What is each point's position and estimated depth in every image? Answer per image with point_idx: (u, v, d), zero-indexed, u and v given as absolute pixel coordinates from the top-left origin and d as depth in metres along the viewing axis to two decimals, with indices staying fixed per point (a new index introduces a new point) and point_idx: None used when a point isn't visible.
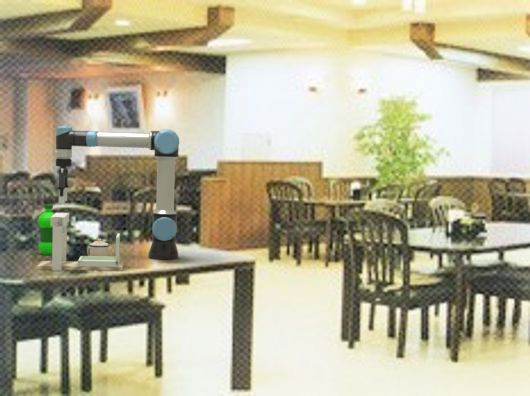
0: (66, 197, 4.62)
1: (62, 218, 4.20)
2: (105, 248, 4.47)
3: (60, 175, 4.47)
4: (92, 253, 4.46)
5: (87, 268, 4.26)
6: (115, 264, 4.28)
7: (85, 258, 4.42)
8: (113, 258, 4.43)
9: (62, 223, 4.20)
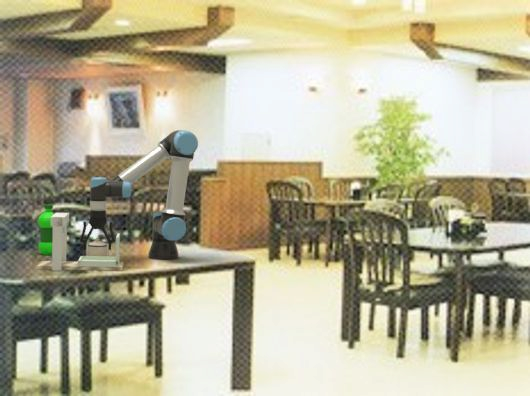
0: None
1: (62, 218, 4.20)
2: (103, 248, 4.47)
3: None
4: (90, 253, 4.46)
5: (87, 268, 4.26)
6: (115, 264, 4.28)
7: (85, 258, 4.42)
8: (113, 258, 4.43)
9: (62, 223, 4.20)
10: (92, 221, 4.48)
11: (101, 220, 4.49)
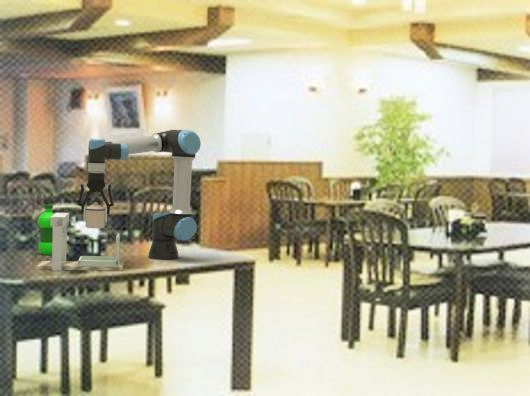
0: (105, 217, 4.33)
1: (62, 218, 4.20)
2: (101, 212, 4.30)
3: None
4: (88, 217, 4.29)
5: (87, 268, 4.26)
6: (115, 264, 4.28)
7: (85, 258, 4.42)
8: (113, 258, 4.43)
9: (62, 223, 4.20)
10: (90, 184, 4.31)
11: (99, 183, 4.32)
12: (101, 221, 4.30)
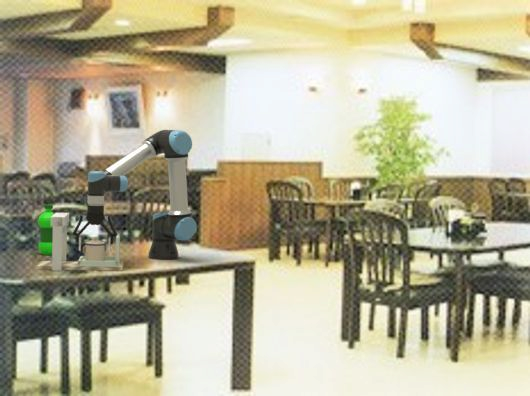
0: None
1: (62, 218, 4.20)
2: (101, 246, 4.31)
3: None
4: (88, 252, 4.30)
5: (87, 268, 4.26)
6: (115, 264, 4.28)
7: (85, 258, 4.42)
8: (113, 258, 4.43)
9: (62, 223, 4.20)
10: (89, 217, 4.32)
11: (98, 216, 4.33)
12: (101, 256, 4.31)
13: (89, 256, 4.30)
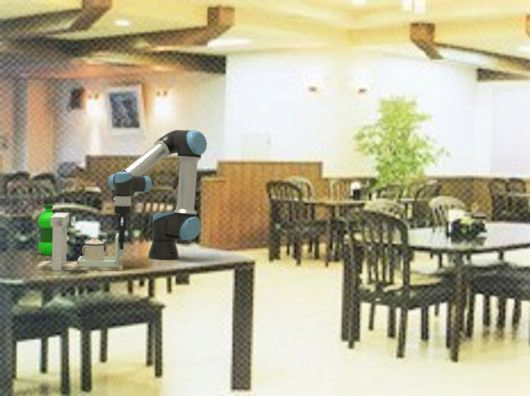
0: None
1: (62, 218, 4.20)
2: (101, 246, 4.31)
3: (120, 228, 4.30)
4: (87, 252, 4.30)
5: (87, 268, 4.26)
6: (115, 264, 4.28)
7: (84, 258, 4.42)
8: (112, 258, 4.43)
9: (62, 223, 4.20)
10: (124, 217, 4.32)
11: None
12: (100, 256, 4.31)
13: (88, 256, 4.30)
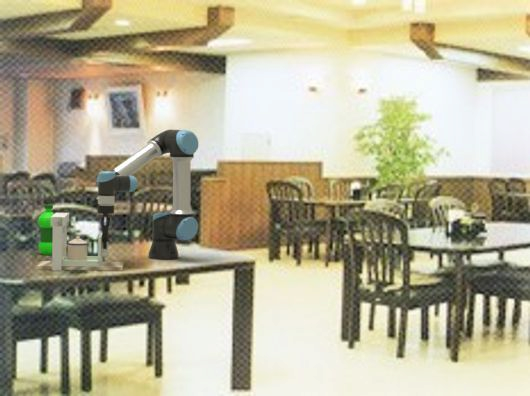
0: None
1: (62, 218, 4.20)
2: (84, 246, 4.30)
3: (103, 228, 4.29)
4: (70, 251, 4.29)
5: (87, 268, 4.26)
6: (98, 264, 4.27)
7: None
8: (96, 258, 4.42)
9: (62, 223, 4.20)
10: (107, 216, 4.32)
11: (108, 214, 4.36)
12: (83, 255, 4.30)
13: (71, 256, 4.29)
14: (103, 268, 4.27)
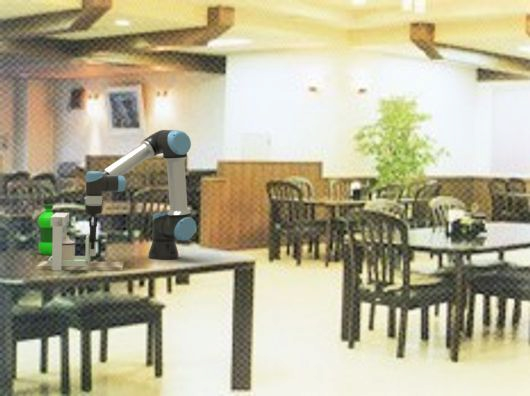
0: None
1: (62, 218, 4.20)
2: (71, 246, 4.30)
3: (91, 228, 4.29)
4: None
5: (87, 268, 4.26)
6: (85, 264, 4.26)
7: None
8: (84, 258, 4.42)
9: (62, 223, 4.20)
10: (95, 216, 4.31)
11: None
12: (71, 255, 4.30)
13: None
14: (103, 268, 4.27)
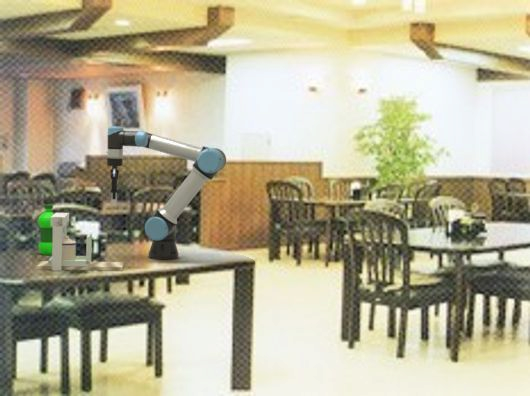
0: None
1: (62, 218, 4.20)
2: (72, 246, 4.30)
3: (112, 179, 4.58)
4: None
5: (87, 268, 4.26)
6: (86, 264, 4.26)
7: None
8: (85, 258, 4.42)
9: (62, 223, 4.20)
10: (116, 168, 4.60)
11: None
12: (71, 255, 4.30)
13: None
14: (103, 268, 4.27)
